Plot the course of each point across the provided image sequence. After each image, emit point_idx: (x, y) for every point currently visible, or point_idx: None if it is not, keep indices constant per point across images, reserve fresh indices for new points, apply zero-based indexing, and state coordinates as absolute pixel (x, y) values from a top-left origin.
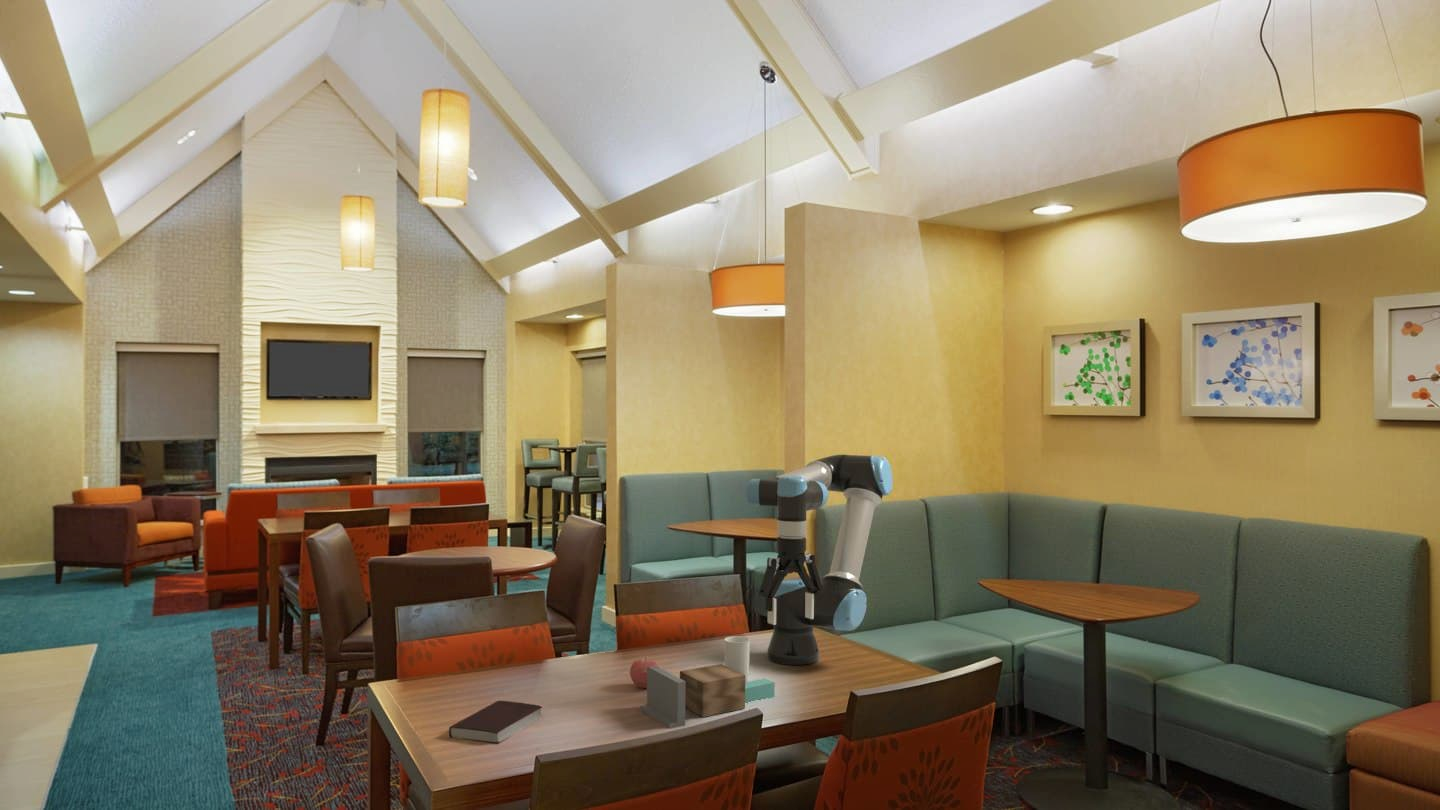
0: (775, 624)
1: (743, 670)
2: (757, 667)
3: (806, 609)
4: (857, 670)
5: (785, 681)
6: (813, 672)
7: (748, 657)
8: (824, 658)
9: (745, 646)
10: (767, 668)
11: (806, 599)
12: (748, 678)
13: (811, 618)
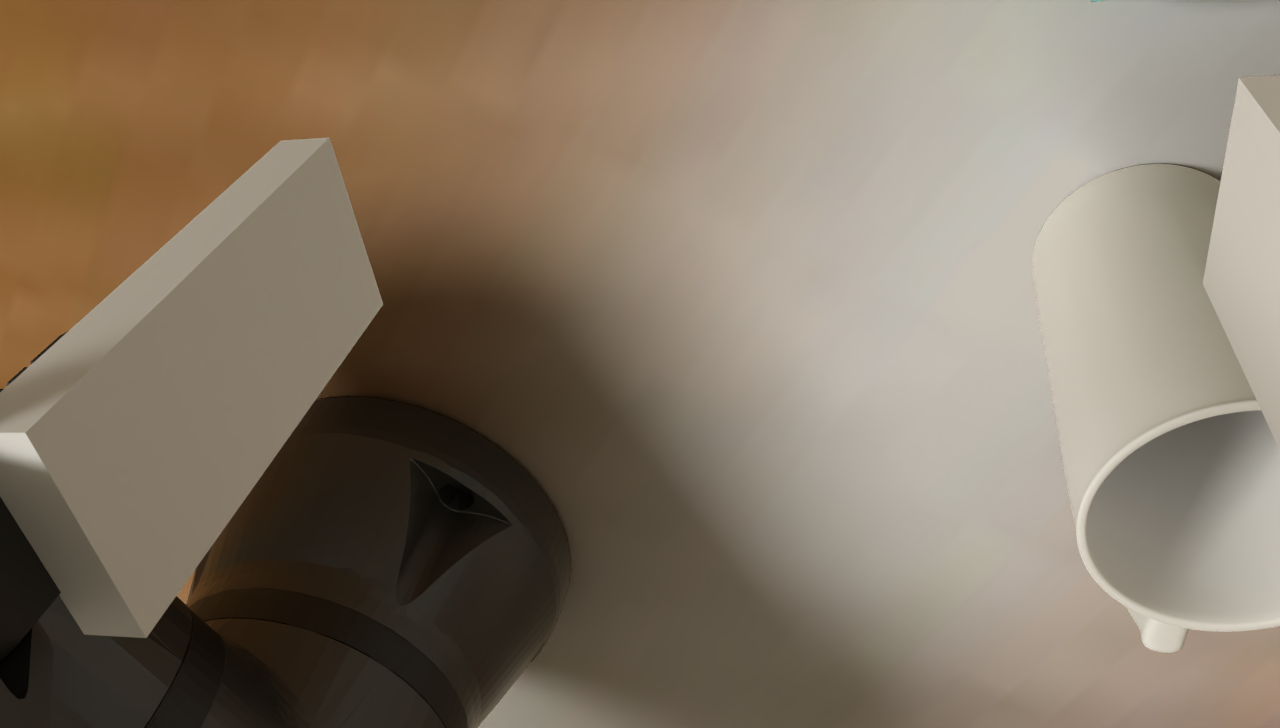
0: (1260, 76)
1: (1189, 232)
2: (722, 499)
3: (311, 353)
4: (47, 139)
5: (705, 156)
6: (390, 244)
7: (1127, 315)
8: None
9: (1231, 370)
10: (668, 455)
11: (213, 485)
12: (1072, 225)
13: (322, 144)
